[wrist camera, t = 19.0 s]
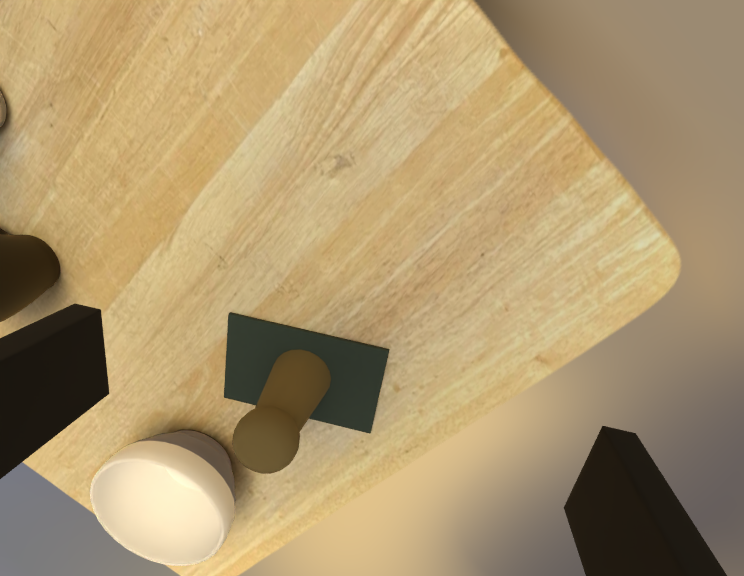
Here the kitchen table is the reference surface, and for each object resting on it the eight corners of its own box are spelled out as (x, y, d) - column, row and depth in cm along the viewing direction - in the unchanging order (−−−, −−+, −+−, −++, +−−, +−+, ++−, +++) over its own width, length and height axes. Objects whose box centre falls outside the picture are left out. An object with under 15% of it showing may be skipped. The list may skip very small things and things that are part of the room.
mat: (389, 349, 39) (389, 351, 39) (370, 431, 43) (370, 433, 42) (230, 312, 40) (228, 313, 40) (225, 395, 44) (223, 397, 43)
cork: (319, 343, 39) (279, 416, 29) (339, 396, 41) (307, 481, 31) (263, 355, 41) (207, 429, 31) (285, 405, 43) (238, 490, 32)
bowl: (134, 482, 50) (85, 538, 43) (144, 389, 45) (90, 436, 38) (244, 521, 50) (213, 584, 43) (267, 433, 45) (236, 488, 38)
